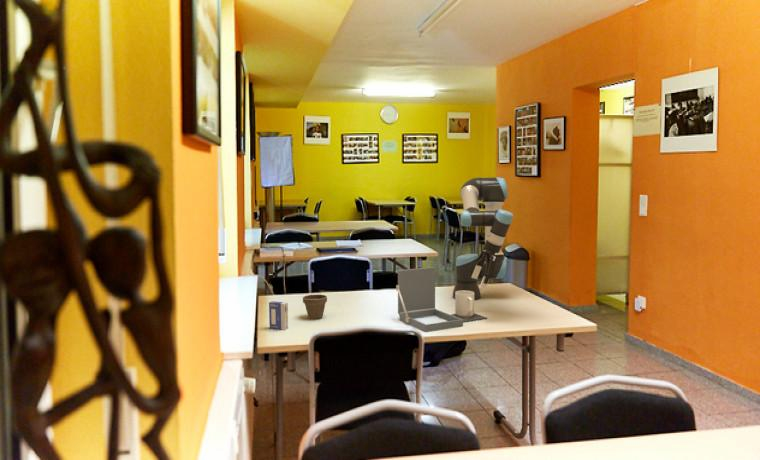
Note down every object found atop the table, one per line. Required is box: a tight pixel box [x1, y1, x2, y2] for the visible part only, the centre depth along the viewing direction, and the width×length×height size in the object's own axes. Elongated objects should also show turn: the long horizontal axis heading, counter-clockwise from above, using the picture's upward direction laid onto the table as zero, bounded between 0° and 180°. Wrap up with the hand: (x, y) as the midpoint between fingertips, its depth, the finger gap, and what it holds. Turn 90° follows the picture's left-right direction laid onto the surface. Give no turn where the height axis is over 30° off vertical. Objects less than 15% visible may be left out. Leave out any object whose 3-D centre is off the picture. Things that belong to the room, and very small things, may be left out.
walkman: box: [268, 300, 289, 331], centre depth 259 cm, size 8×3×12 cm, turn 70°
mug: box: [454, 290, 475, 318], centre depth 276 cm, size 12×9×11 cm
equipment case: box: [395, 266, 464, 333], centre depth 267 cm, size 24×21×23 cm
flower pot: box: [302, 294, 328, 320], centre depth 277 cm, size 12×11×10 cm
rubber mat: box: [450, 312, 488, 324], centre depth 277 cm, size 13×15×1 cm
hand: (477, 283), depth 279 cm, fingers open, 13 cm apart
